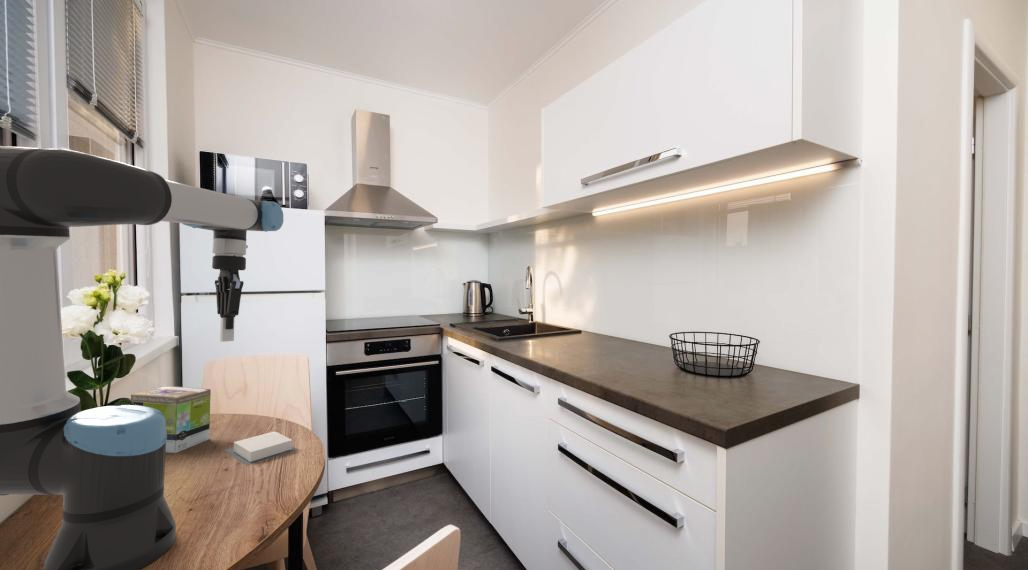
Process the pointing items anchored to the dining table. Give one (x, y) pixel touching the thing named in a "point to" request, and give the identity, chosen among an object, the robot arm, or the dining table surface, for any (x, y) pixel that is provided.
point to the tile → (262, 446)
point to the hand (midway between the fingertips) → (226, 340)
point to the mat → (246, 462)
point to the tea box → (180, 414)
